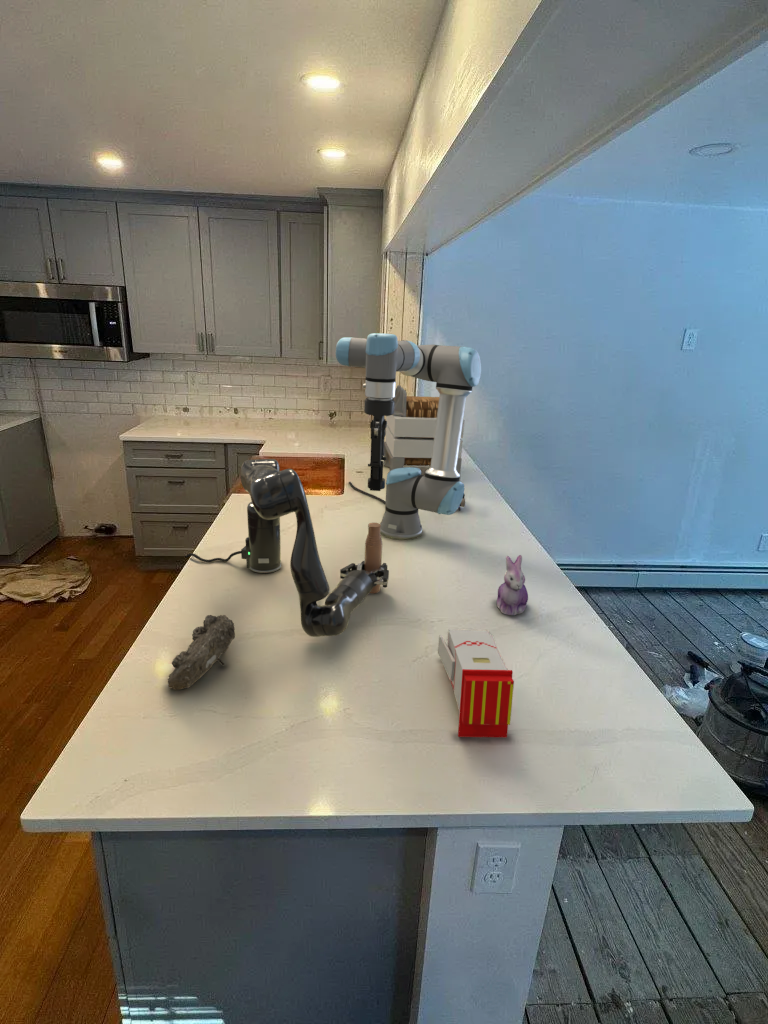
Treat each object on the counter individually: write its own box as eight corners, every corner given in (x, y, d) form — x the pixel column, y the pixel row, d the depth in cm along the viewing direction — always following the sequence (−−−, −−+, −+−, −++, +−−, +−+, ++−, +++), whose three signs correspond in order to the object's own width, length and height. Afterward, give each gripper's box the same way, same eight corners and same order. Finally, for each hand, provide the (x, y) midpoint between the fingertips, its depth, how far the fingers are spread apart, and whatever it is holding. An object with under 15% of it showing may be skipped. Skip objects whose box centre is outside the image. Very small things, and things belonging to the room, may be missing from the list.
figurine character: (465, 515, 224) (460, 499, 237) (467, 498, 221) (462, 483, 234) (448, 515, 224) (444, 499, 237) (450, 498, 220) (445, 482, 234)
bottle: (382, 588, 161) (385, 523, 154) (376, 595, 157) (378, 529, 150) (367, 584, 163) (370, 520, 156) (360, 591, 158) (362, 525, 152)
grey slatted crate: (382, 463, 289) (386, 382, 275) (445, 464, 293) (451, 384, 279) (390, 482, 257) (394, 392, 243) (460, 483, 261) (468, 394, 247)
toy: (488, 613, 130) (523, 677, 101) (484, 667, 133) (517, 744, 104) (435, 612, 130) (455, 676, 101) (432, 666, 133) (451, 743, 103)
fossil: (190, 617, 133) (235, 588, 128) (218, 645, 136) (264, 617, 131) (146, 683, 113) (197, 651, 108) (180, 714, 116) (232, 684, 111)
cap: (374, 483, 152) (375, 475, 152) (388, 487, 150) (388, 479, 149) (364, 487, 149) (364, 479, 148) (377, 491, 146) (378, 483, 146)
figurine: (510, 620, 147) (517, 567, 142) (486, 602, 155) (492, 552, 150) (538, 612, 151) (545, 561, 146) (513, 595, 159) (519, 546, 154)
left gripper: (379, 582, 141) (400, 556, 156) (327, 571, 146) (353, 547, 161) (378, 608, 144) (399, 581, 159) (327, 597, 148) (352, 571, 163)
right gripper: (368, 392, 150) (365, 477, 158) (360, 402, 134) (357, 496, 142) (396, 394, 150) (392, 478, 157) (392, 404, 133) (387, 498, 141)
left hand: (376, 564), depth 160 cm, fingers closed on bottle, 4 cm apart
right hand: (376, 487), depth 149 cm, fingers closed on cap, 4 cm apart
